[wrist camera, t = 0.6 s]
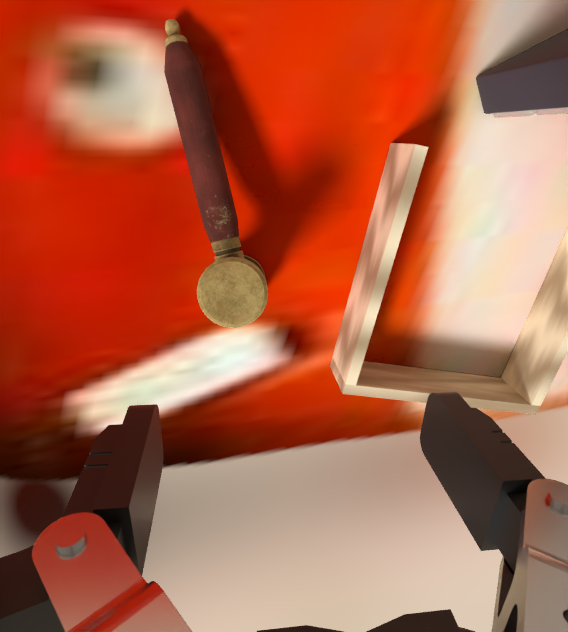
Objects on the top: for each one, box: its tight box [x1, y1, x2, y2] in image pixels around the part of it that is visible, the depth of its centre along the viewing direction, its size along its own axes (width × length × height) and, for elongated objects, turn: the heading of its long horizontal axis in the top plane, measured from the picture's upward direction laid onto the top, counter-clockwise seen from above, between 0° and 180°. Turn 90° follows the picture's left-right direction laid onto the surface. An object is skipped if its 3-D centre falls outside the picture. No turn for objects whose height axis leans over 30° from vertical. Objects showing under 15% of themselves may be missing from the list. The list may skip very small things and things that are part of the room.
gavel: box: [165, 19, 268, 328], centre depth 31 cm, size 21×5×10 cm, turn 11°
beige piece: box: [330, 143, 568, 414], centre depth 38 cm, size 21×20×5 cm
